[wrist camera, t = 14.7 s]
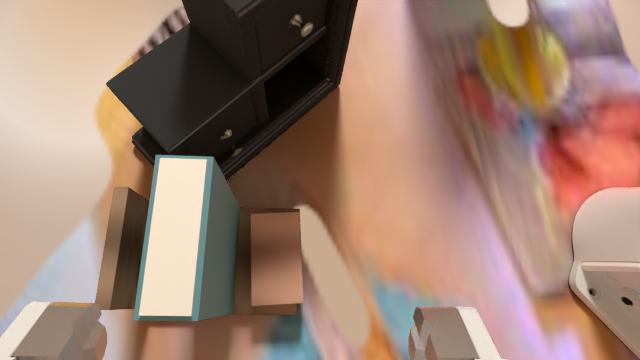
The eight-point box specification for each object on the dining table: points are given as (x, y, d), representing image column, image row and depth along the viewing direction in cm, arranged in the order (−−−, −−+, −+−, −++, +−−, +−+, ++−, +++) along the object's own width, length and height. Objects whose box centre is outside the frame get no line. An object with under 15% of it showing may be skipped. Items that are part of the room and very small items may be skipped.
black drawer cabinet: (192, 211, 45) (93, 121, 22) (132, 143, 47) (-16, -3, 24) (341, 86, 51) (382, -86, 28) (283, 30, 52) (277, -174, 30)
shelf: (302, 314, 42) (305, 318, 33) (139, 312, 41) (92, 316, 32) (304, 211, 46) (308, 187, 36) (153, 207, 45) (115, 181, 35)
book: (233, 313, 41) (197, 321, 25) (192, 313, 41) (131, 320, 25) (240, 206, 44) (212, 155, 28) (203, 206, 44) (154, 153, 28)
